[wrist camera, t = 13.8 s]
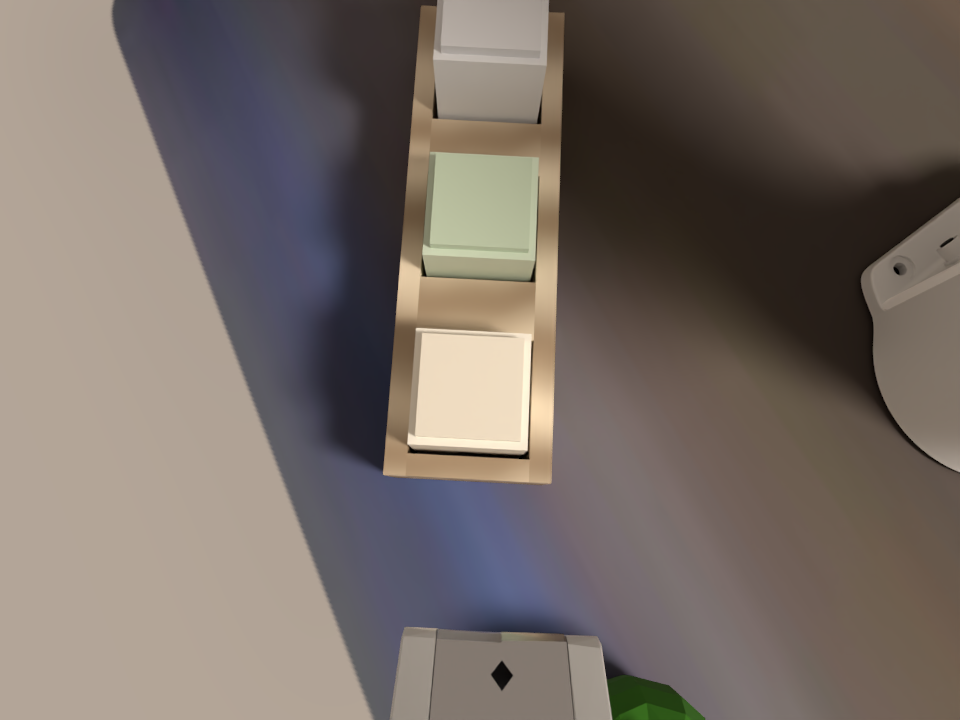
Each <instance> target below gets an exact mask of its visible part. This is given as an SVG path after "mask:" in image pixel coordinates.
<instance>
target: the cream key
mask: <svg viewBox="0 0 960 720" xmlns="http://www.w3.org/2000/svg"><path fill="white" fill-rule="evenodd" d="M531 340H532V334H523V333H504V332H485V331H466V330H447V329H428V328H416V334H415V348H414V361H413V375H412V388H411V402H410V415H409V429H408V442H407V444H408V445H409V446H410V447H411V448H413V449H414V450H415V451H416V452H418V453H432V454H451V455H470V456H489V457H508V458H519V457H520V456H522V455H523V454H524V453H525V452H526V451H528V423H529V395H530V367H531Z"/></svg>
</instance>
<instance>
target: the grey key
mask: <svg viewBox="0 0 960 720" xmlns="http://www.w3.org/2000/svg"><path fill="white" fill-rule="evenodd" d="M548 13H549V0H437V14H436V27H435V40H434V54H433V64H434V76H435V87H436V98H437V109H438V119H449V120H468V121H487V122H506V123H525V124H537V119H538V113H539V107H540V102H541V96H542V90H543V84H544V78H545V73H546V67H547V42H548Z"/></svg>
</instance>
